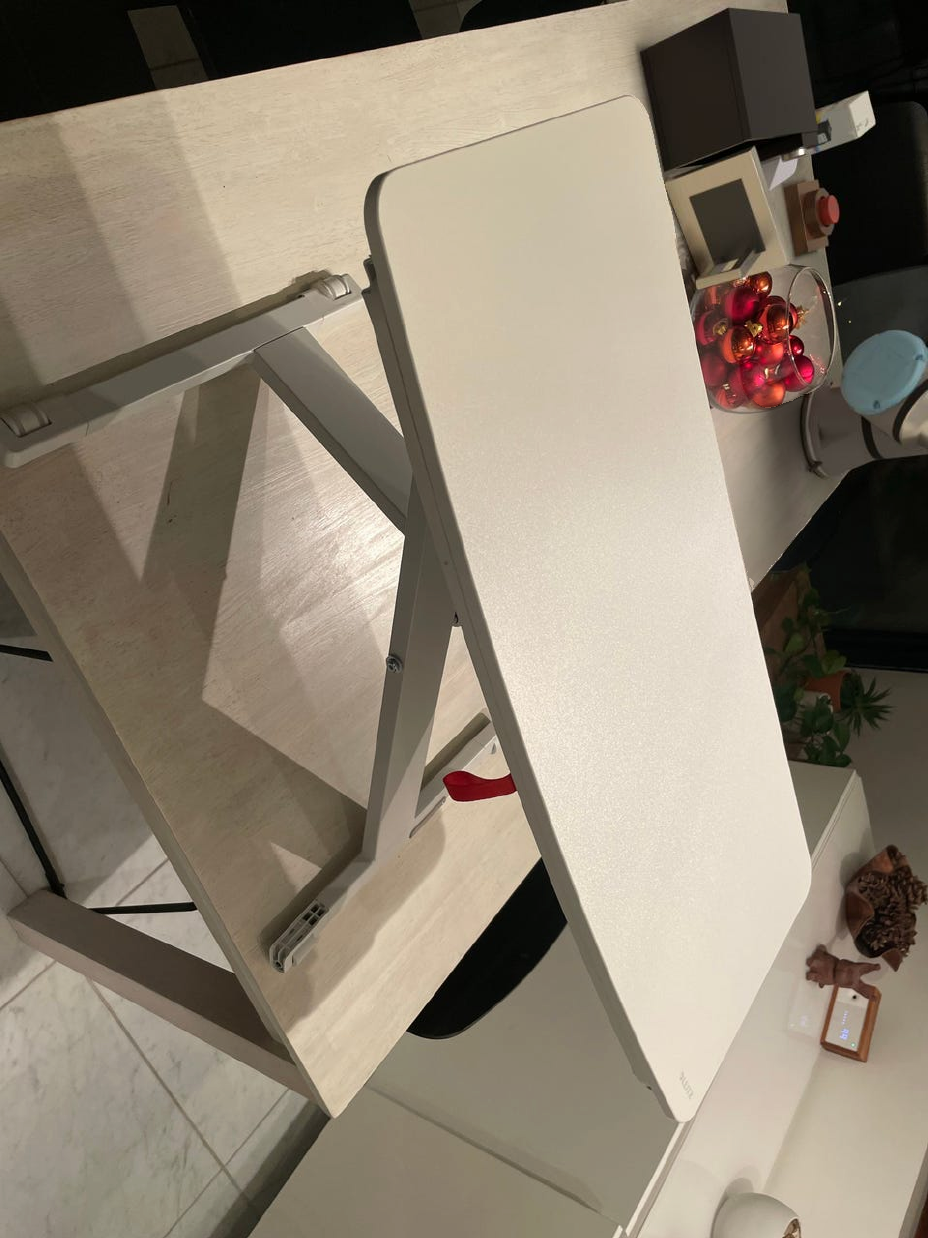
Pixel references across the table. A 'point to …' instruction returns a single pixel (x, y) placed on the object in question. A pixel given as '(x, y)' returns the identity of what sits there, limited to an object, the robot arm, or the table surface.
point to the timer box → (806, 216)
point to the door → (729, 219)
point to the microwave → (731, 89)
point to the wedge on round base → (778, 171)
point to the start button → (828, 210)
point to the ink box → (842, 122)
